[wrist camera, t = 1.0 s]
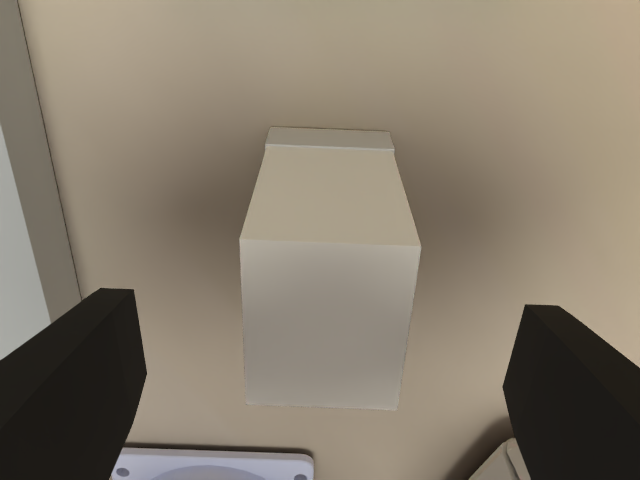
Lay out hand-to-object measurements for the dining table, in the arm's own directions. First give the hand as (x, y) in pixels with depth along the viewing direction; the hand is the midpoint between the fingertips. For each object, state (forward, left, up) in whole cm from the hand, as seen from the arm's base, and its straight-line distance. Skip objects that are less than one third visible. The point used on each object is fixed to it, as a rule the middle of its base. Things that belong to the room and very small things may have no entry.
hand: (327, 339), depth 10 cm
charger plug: (0, 0, -7) cm, 7 cm away
